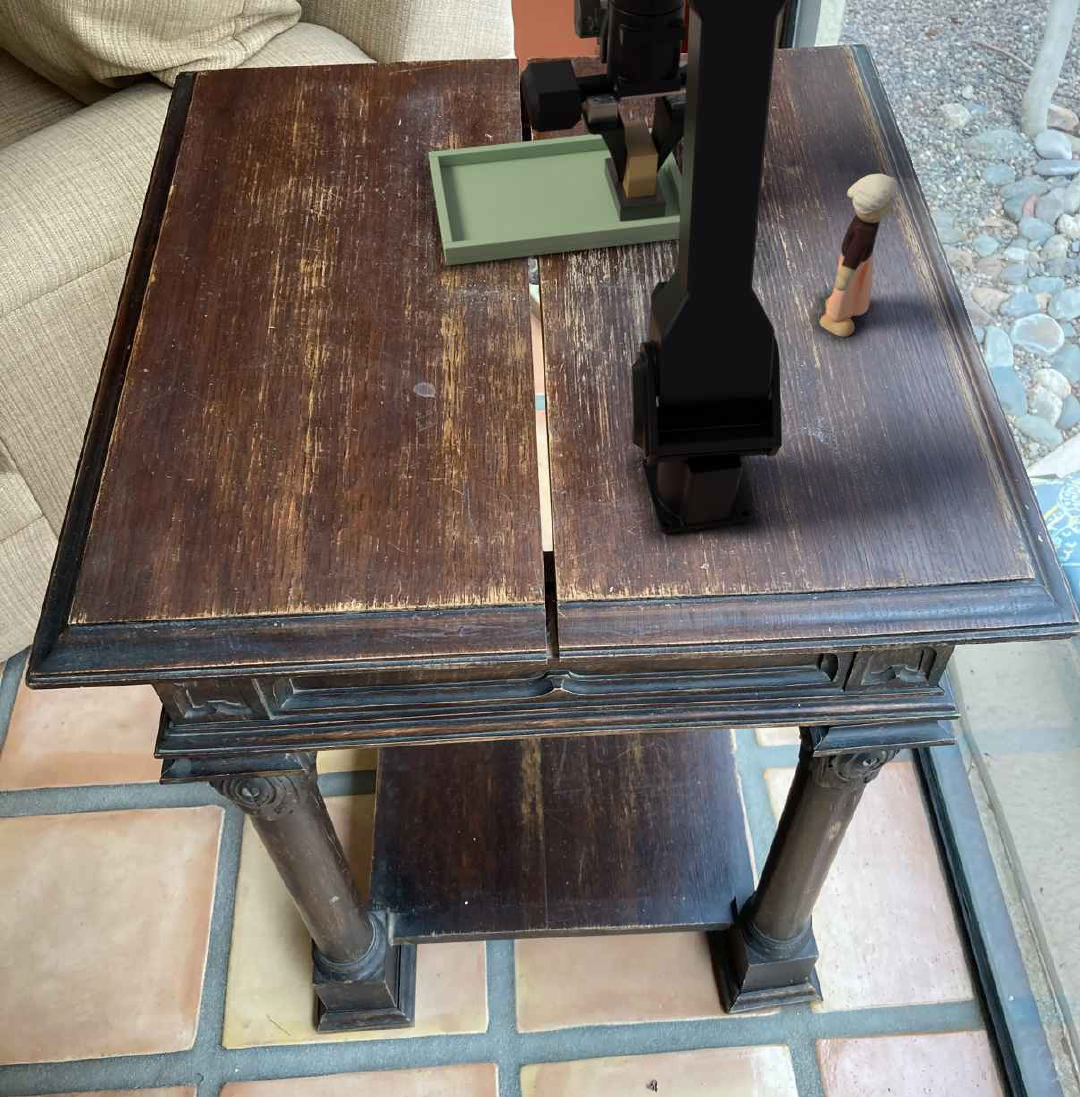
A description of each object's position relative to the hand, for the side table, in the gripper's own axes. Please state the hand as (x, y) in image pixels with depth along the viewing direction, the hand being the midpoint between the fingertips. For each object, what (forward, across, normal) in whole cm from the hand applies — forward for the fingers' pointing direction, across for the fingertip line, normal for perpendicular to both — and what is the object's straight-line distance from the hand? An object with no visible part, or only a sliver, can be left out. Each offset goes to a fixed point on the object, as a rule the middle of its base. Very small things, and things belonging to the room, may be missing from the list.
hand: (635, 177), depth 91 cm
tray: (+2, +7, -1) cm, 7 cm away
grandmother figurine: (+3, -14, +17) cm, 22 cm away
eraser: (+2, 0, 0) cm, 2 cm away
